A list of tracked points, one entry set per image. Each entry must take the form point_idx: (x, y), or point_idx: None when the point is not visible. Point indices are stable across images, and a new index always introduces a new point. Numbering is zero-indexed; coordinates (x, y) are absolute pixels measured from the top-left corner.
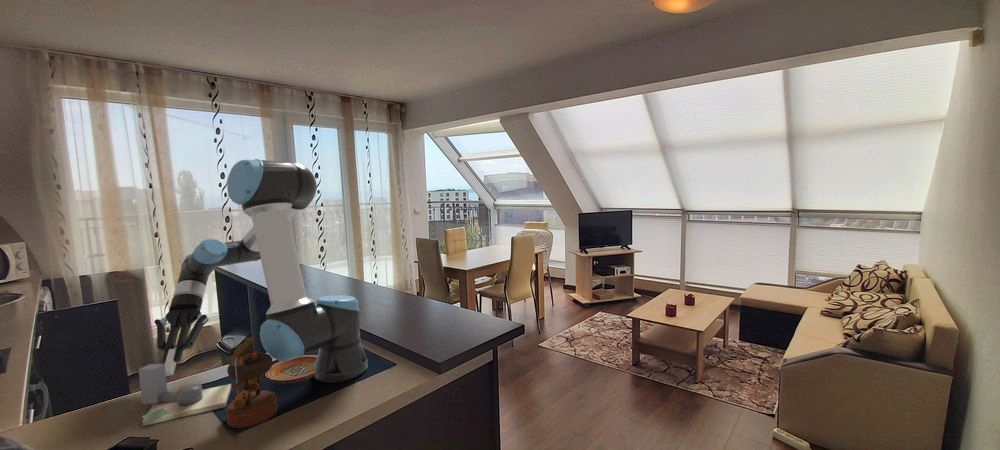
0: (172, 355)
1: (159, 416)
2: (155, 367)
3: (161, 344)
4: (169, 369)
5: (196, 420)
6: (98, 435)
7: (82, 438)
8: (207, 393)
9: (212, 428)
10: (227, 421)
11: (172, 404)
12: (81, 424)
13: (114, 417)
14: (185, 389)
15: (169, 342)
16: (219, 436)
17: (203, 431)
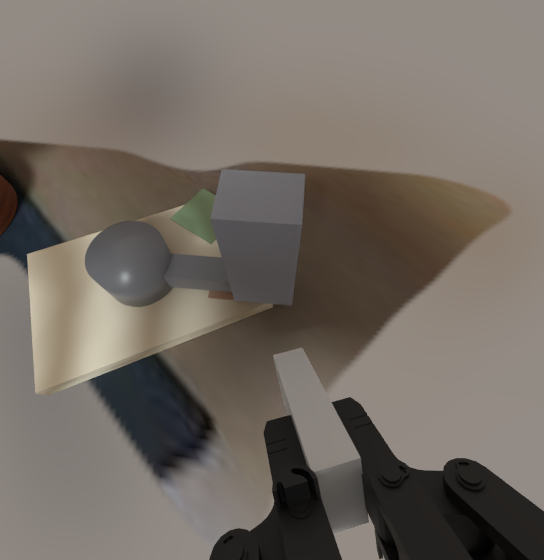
0: (301, 419)
1: (190, 205)
2: (231, 183)
3: (481, 502)
4: (276, 360)
5: (98, 210)
6: (306, 181)
7: (334, 175)
8: (105, 319)
9: (46, 178)
10: (6, 181)
11: None
12: (405, 225)
13: (344, 247)
14: (135, 245)
15: (422, 540)
16: (22, 153)
17: (63, 171)
